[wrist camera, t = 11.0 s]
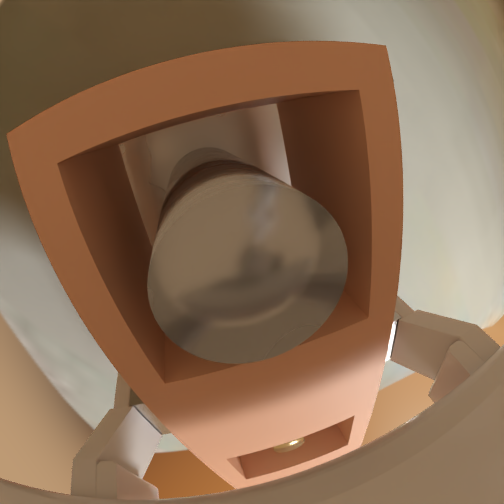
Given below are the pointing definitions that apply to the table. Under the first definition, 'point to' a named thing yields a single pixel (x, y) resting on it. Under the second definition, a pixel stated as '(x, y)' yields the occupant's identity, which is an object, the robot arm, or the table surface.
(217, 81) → the link
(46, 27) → the table surface
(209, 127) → the post plate
